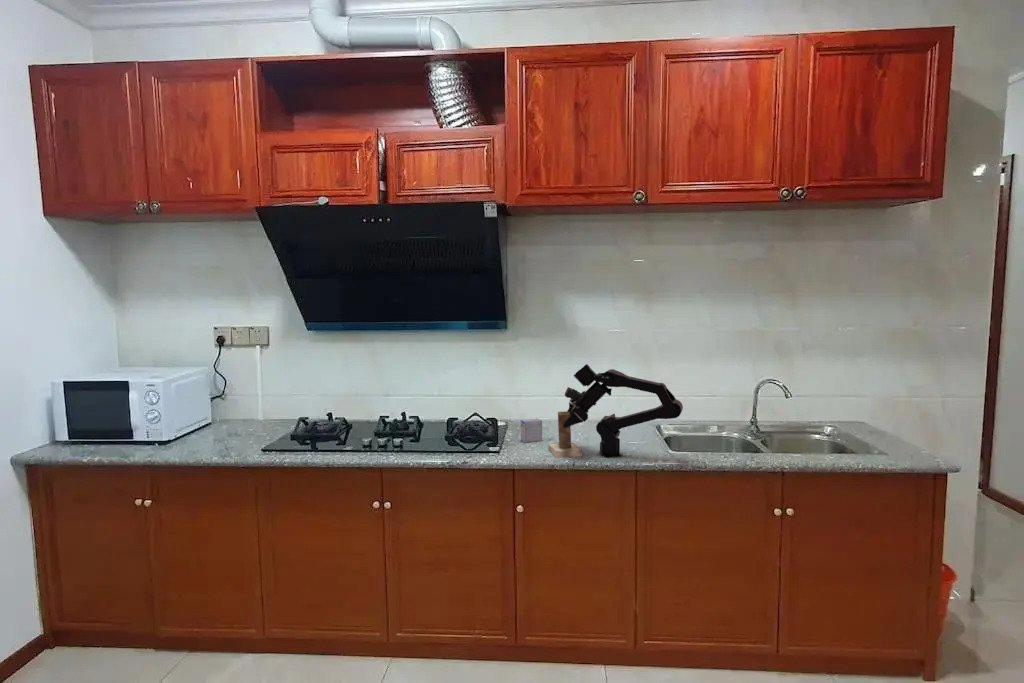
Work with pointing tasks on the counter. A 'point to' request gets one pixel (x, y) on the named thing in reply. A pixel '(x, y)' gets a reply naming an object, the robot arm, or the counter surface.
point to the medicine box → (531, 430)
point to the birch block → (565, 451)
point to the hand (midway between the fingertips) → (562, 424)
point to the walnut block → (564, 430)
